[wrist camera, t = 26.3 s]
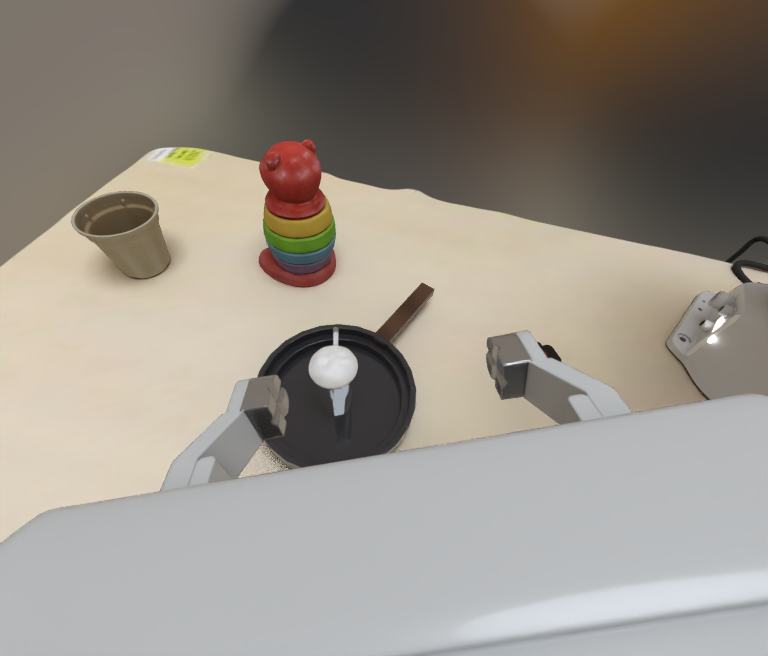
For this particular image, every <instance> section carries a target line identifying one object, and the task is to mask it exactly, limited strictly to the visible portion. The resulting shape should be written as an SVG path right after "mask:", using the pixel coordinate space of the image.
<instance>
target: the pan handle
mask: <svg viewBox="0 0 768 656" xmlns="http://www.w3.org/2000/svg"><path fill="white" fill-rule="evenodd" d="M433 293H434V289H433V288H431V287H429V286H427V285H426V284H424V283H421V284H420V285H419V287H418V288H417V289H416V290H415V291H414V292H413V293H412V294H411V295H410V296H409V297H408V298H407V300H406V301H405V302H404V303H403V304H402V305H401V306H400V307H399V308H398V309H397V310H396V311H395V313H394V314H393V315H392V316H391V317H390V318H389V319H388V320H387V321H386V322H385V323H384V325H383V326H382V327H381V328H380V329H379V330H378V331H377V332H376V334H377V335H378V336H380V337H382V338H383V339H385V340H386V341H389V342H391V343H392V342H393V341H394V339H395V338H396V337H397V336H398V335H399V334H400V332H401V331H402V330H403V329H404V328H405V327H406V326H407V324H408V323H409V322H410V321H411V320H412V319H413V317H414V316H415V315H416V314H417V313H418V312H419V310H420V309H421V308H422V307H423V306H424V305H425V304H426V302H427V301H428V300H429V299H430V298H431V297H432V295H433ZM374 343H375V344H377V345H379V346H380V347H382V348H383V349H384V347H385V344H384V343H382V342H381V341H379V340H378V339H376V338H374Z"/></svg>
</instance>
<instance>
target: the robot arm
mask: <svg viewBox="0 0 768 656" xmlns="http://www.w3.org/2000/svg"><path fill="white" fill-rule="evenodd" d="M758 241H763V242H765V243H767V244H768V237H765V236H758V237H755V238H753V239H751V240H749V241H748V242H747V243H746V244H745V245H744V246H743V247H742V248H741V249H740V250H738V251H737V252H736V253H735V254H734V255H732V256H731V257H730V258H729V259H727V260H726V261H725V262H727V263H731V262H733V261H734V260H735V259H737V258H738V257H739V256H740V255H742V254H743V253H744V252H745V251H746V250H747V249H748V248H749V247H750V246H751V245H753V244H754V243H756V242H758ZM741 265H745V266H750V267H755V268H758V269H762V270H766V271H768V265H765V264H761V263H757V262H753V261H748V260H740V261H737V262H736V263H735V264H734V266H733V269H734V272H735V274H736V275H737V277H738V278H739V279H740V280H741V281H742V282H743V284H741V285H739V286H738V287H736V288H735V289H733V290H732V291H730V292H729V293H726V292H724V291H720V292H718V293H713V292H702V293H701V294H699V295H698V296H697V297H696V298H695V300H694V301H693V303H692V304H691V306H690V307H689V309H688V310H687V312H686V313H685V315H684V316H683V318H682V319H681V321H680V322H679V324H678V325H677V327H676V328H675V330H674V331H673V333H672V334H671V336H670V337H669V339H668V340H667V346H668V348H669V349H670V350H671V352H672V353H673V354H674V355H675V356H676V357H677V358H678V359H679V360H680V361H681V362H682V363H683V364H684V366H685V367H686V369H687V371H688V372H689V374H690V376H691V378H692V379H693V381H694V382H695V383H696V385H697V386H698V387H699V388H700V390H701V391H702V392H703V393H704V394H705V395H706V396H707V397H708V398H709V399H710V400H705V401H699V402H693V403H687V404H681V405H675V406H669V407H663V408H657V409H651V410H645V411H639V412H632V411H631V409H630V408H629V407H628V406H627V404H626V403H625V402H624V401H623V399H622V398H621V397H620V396H619V394H618V393H617V392H616V391H615V390H614V388H613V387H611V386H609V385H606V384H604V383H602V382H600V381H598V380H596V379H594V378H592V377H590V376H588V375H586V374H584V373H582V372H580V371H578V370H576V369H574V368H572V367H570V366H568V365H566V364H564V363H562V362H559V361H557V360H555V359H553V358H547V356H546V355H545V353H544V352H543V351H542V349H541V348H540V346H539V345H538V343H537V342H536V340H535V339H534V337H533V336H532V334H531V333H530V331H528V330H525V331H520V332H515V333H511V334H505V335H500V336H494V337H489V338H488V339H487V347H488V350H489V352H488V353H487V354H486V361H487V368H488V371H489V374H490V376H491V378H492V379H494V380H495V387H496V389H497V392H498V394H499V396H500V398H501V400H504V399H511V398H518V397H524V398H525V399H527V400H528V401H529V402H531V403H532V404H533V405H535V406H536V407H537V408H539V409H540V410H541V411H543V412H544V413H545V414H547V415H548V416H549V417H551V418H552V419H553V420H555V421H556V422H557V423H559V424H560V425H555V426H549V427H543V428H537V429H531V430H525V431H519V432H513V433H507V434H501V435H495V436H489V437H483V438H477V439H471V440H465V441H459V442H453V443H447V444H441V445H435V446H429V447H423V448H417V449H411V450H405V451H399V452H393V453H387V454H381V455H375V456H369V457H363V458H357V459H351V460H345V461H339V462H333V463H327V464H321V465H315V466H309V467H303V468H297V469H291V470H285V471H279V472H273V473H267V474H261V475H255V476H249V477H243V478H237V477H238V476H239V475H240V473H241V472H242V471H243V469H244V468H245V466H246V465H247V464H248V462H249V461H250V459H251V458H252V457H253V455H254V454H255V452H256V451H257V450H258V448H259V447H260V445H261V444H262V443H263V441H264V440H269V439H274V438H279V437H284V436H285V430H286V424H287V421H286V420H285V418H284V417H285V416H286V415H287V414H288V412H289V398H288V394H287V392H286V390H285V389H284V388H282V387H280V386H281V380H280V378H279V376H278V375H271V376H264V377H257V378H251V379H246V380H239V381H238V382H237V383H236V385H235V387H234V390H233V393H232V396H231V399H230V402H229V405H228V408H227V411H226V414H222V415H221V416H220V417H219V418H218V419H216V420H215V421H214V422H213V423H212V424H211V425H210V426H209V427H208V428H207V429H206V430H205V431H204V432H203V433H202V434H201V435H200V436H199V437H198V438H197V439H196V440H195V441H194V442H192V443H191V444H190V445H189V446H188V447H187V448H186V449H185V450H184V451H183V452H182V453H181V454H180V455H179V456H178V457H177V458H176V459H175V460H174V461H173V462H172V464H171V466H170V469H169V471H168V473H167V476H166V478H165V480H164V482H163V485H162V487H161V489H160V491H159V492H153V493H147V494H141V495H135V496H129V497H123V498H117V499H111V500H105V501H99V502H93V503H87V504H80V505H74V506H67V507H60V508H56V509H51V510H48V511H45V512H43V513H41V514H39V515H38V516H36V517H35V518H33V519H32V520H30V521H29V522H28V523H26V524H25V525H23V526H22V527H21V528H19V529H18V530H17V531H16V532H14V533H13V534H12V535H10V536H9V537H8V538H7V539H5V540H4V541H3V542H1V543H0V656H768V284H764V283H760V282H758V283H754V282H752V281H751V280H750V279H749V278H748V277H747V276H746V275H745V274H744V273H743V271H742V269H741Z"/></svg>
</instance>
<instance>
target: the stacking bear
mask: <svg viewBox="0 0 768 656" xmlns="http://www.w3.org/2000/svg"><path fill="white" fill-rule="evenodd" d="M315 152H316V147H315V144H314V143H313V142H312V141H311V140H304V141H303V142H302V144H301V143H298V142H294V141H284V142H280V143H278V144H275V145H274V146H272V147H271V148H269V150H268V151H267V152H266V153H265V155H264V157H263V158H262V160H261V162H260V165H259V170H260V174H261V177H262V180H263V181H264V183H265V185H266V186H267V188H268V189H269V191H268V193H267V195H266V197H265V205H264V219H263V229H264V235H265V238H266V241H267V244H268V246H269V248H266V249H265V250H263V251H262V252H261V254H260V256H259V263H260V266H261V267H262V268H263V269H264V270H265V271H266V272H267V273H268V274H269V275H270V276H272V277H273V278H275V279H277V280H279V281H281V282H283V283H286V284H289V285H293V286H299V287H307V286H313V285H317V284H320V283H322V282H324V281H325V280H327V279H328V278H329V277H330V276H331V275H332V274H333V272H334V270H335V267H336V259H335V254H334V250H333V247H334V243H335V237H336V232H335V231H336V230H335V222H334V217H333V214H332V211H331V207H330V204H329V201H328V199H327V198H326V196H325V195H324V194H323V192H322V191H321V190H320V189H319V185H320V181H321V167H320V163H319V161H318V159H317V157H316V155H315Z"/></svg>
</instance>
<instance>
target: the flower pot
mask: <svg viewBox="0 0 768 656" xmlns="http://www.w3.org/2000/svg"><path fill="white" fill-rule="evenodd" d="M158 210H159V208H158V204H157V202H156V200H154V199H153V198H152V197H151V196H149V195H147V194H144V193H141V192H134V191H119V192H113V193H108V194H104V195H101V196H98V197H96V198H93V199H91V200H89V201H88V202H86V203H84V204H83V205H81V206H80V207H79V208H78V209H76V211H75V212H74V214H73V215H72V220H71V223H72V226H73V228H74V229H75V230H76V231H77V232H78V233H79V234H81V235H83V236H86V237H87V238H88V239H89V240H90V241H92V242H94V243H95V244H96V245H97V246H98V247H99V248H100V249H101V250H102V251H103V252H104V253H105V254H106V255H107V256H108V257H109V258H110V259H111V260H112V261H113V262H114V263H115V264H116V265H117V266H118V267H119V268H120V269H121V271H122V272H123V273H124V274H125V275H127V276H129V277H136V278H140V279H143V278H148V277H152V276H155V275H157V274H159V273H161V272H162V271H164V270H165V268H166V266H167V265H168V264H169V263H170V255H169V253H168V250H167V247H166V244H165V241H164V238H163V235H162V231H161V228H160V225H159V222H158V221H159V216H158Z"/></svg>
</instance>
